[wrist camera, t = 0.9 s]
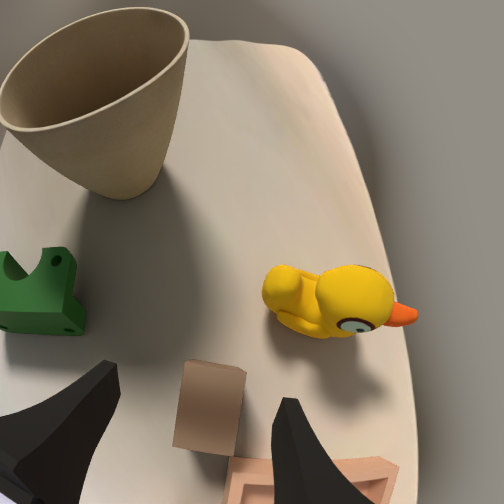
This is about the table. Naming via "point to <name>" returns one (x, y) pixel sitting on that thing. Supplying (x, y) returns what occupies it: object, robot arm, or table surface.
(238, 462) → the pink rectangular tray
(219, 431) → the tan wooden block
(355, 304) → the duckling
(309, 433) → the robot arm
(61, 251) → the clamp
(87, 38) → the plant pot
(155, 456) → the table surface
